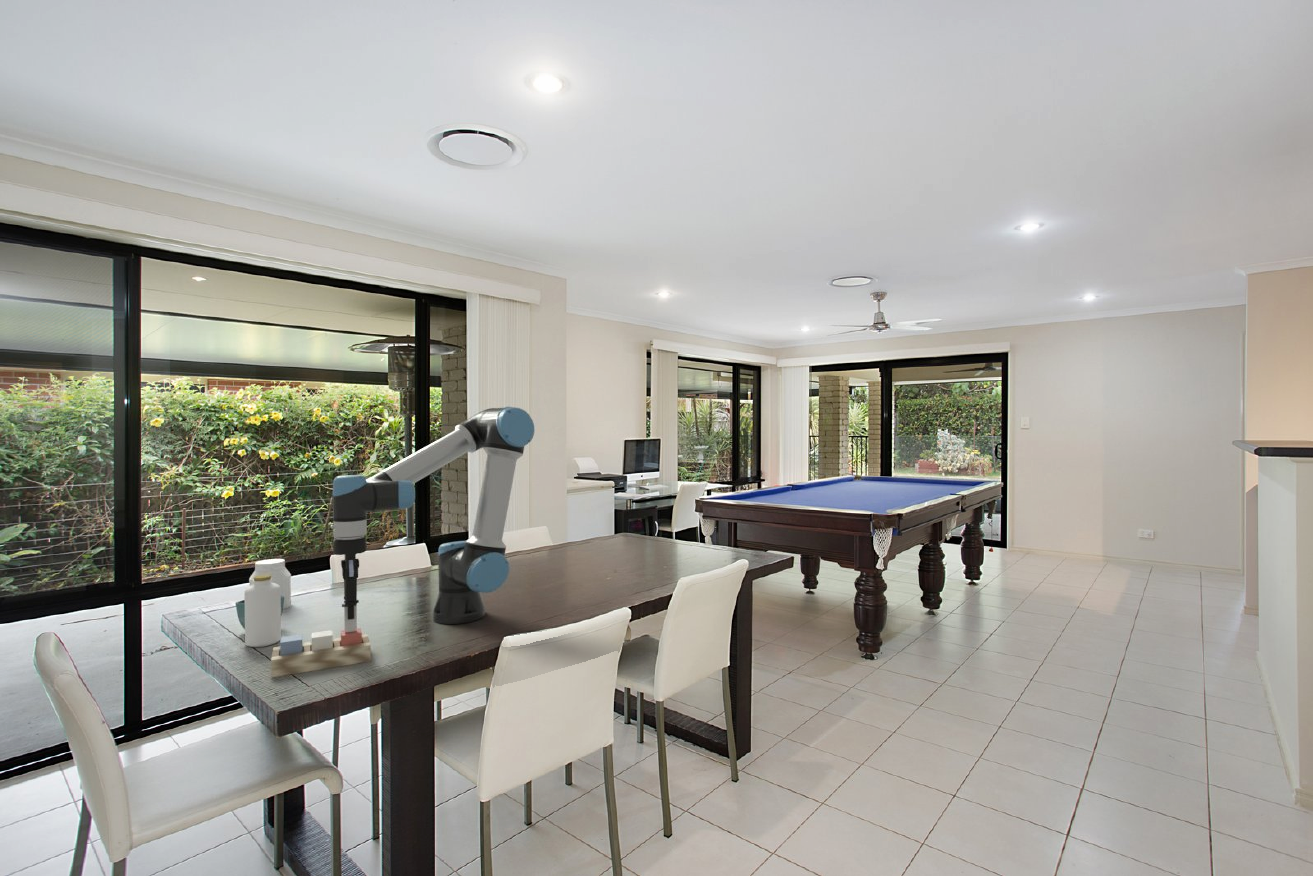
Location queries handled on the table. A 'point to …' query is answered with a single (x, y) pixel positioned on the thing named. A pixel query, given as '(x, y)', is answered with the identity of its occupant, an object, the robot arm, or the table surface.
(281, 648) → the blue short block
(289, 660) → the wooden block holder
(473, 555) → the robot arm
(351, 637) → the red key
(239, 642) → the table surface
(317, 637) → the white key
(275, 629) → the potion bottle
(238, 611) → the flower pot
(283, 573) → the jar
